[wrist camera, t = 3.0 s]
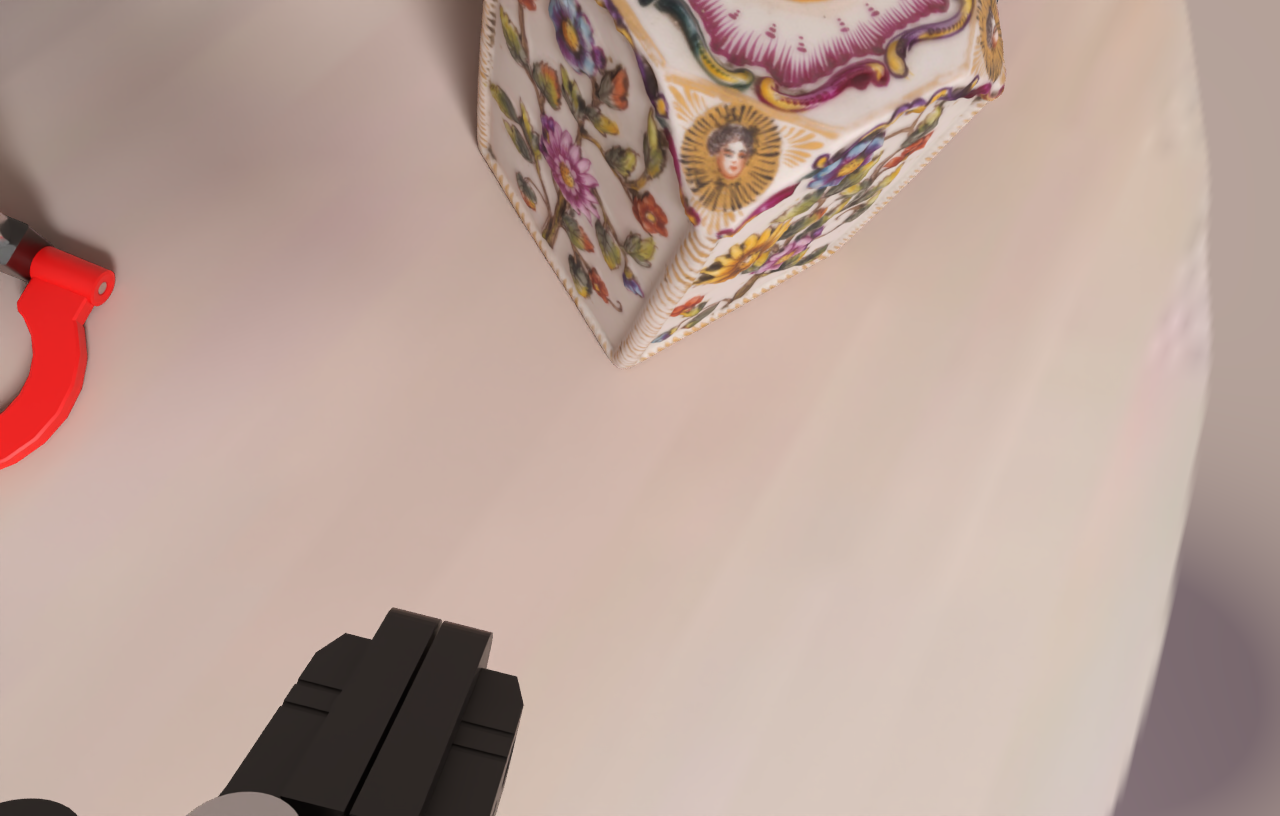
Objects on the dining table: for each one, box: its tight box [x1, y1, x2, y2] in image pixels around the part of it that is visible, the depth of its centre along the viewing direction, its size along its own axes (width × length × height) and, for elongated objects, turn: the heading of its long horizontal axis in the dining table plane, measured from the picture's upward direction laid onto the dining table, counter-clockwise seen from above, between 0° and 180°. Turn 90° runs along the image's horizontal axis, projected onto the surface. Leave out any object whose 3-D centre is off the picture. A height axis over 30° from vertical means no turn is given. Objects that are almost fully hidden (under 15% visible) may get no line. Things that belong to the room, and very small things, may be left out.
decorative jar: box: [477, 0, 1006, 369], centre depth 30 cm, size 12×12×18 cm
